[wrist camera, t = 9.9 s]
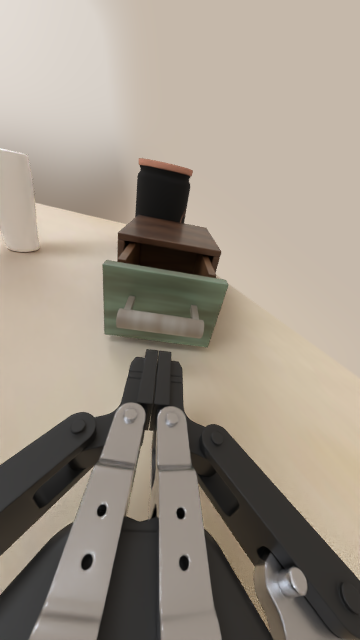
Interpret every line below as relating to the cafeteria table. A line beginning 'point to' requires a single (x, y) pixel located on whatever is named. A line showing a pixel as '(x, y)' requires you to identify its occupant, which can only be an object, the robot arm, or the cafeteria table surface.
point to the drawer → (162, 295)
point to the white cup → (17, 203)
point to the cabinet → (169, 237)
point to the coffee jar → (162, 190)
